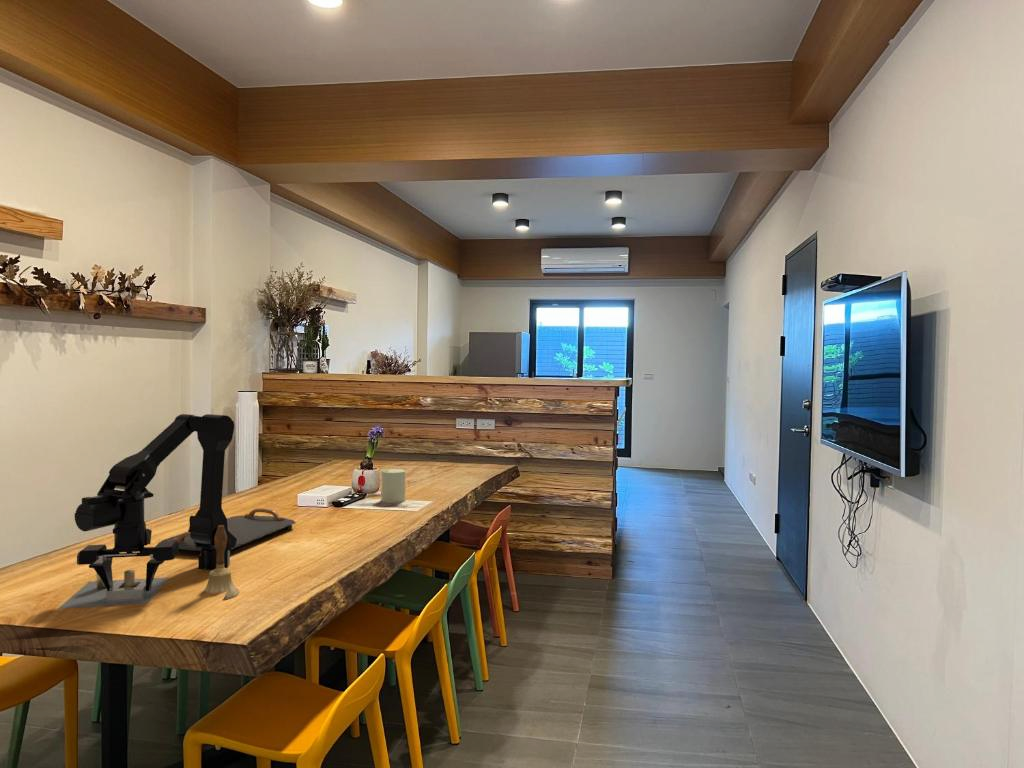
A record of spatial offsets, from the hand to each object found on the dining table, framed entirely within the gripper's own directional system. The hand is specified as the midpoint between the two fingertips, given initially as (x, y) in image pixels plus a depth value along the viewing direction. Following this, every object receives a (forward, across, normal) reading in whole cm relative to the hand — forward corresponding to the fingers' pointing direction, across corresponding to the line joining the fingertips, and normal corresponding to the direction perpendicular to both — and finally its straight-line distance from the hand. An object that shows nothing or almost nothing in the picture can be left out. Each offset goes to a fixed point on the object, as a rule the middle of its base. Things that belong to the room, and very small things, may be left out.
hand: (129, 591), depth 146 cm
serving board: (+3, -13, -52) cm, 53 cm away
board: (+2, +4, -4) cm, 6 cm away
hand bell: (+3, -18, -2) cm, 18 cm away
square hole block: (+1, 0, 0) cm, 1 cm away
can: (+3, -63, -98) cm, 117 cm away
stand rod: (+1, 0, 0) cm, 1 cm away
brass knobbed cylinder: (+1, +7, -7) cm, 10 cm away
